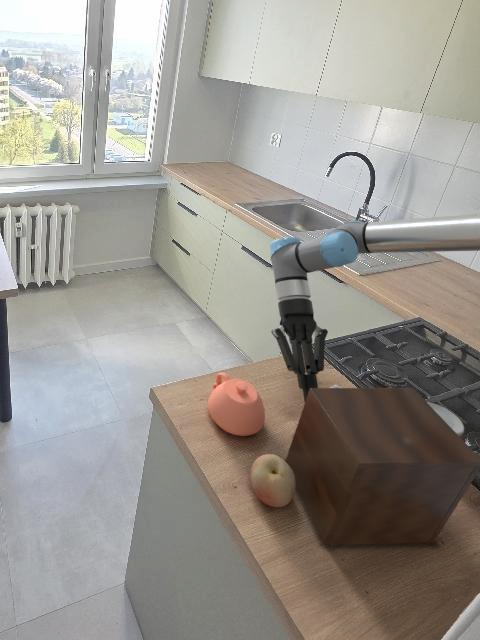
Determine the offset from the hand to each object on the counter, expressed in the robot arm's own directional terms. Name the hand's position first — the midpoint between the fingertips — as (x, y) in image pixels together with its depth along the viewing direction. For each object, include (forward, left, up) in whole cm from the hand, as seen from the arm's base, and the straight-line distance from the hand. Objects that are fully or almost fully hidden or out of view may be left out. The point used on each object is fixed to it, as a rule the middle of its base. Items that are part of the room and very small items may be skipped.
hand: (311, 405), depth 94 cm
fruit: (+16, +16, -5) cm, 24 cm away
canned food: (-21, +8, -5) cm, 23 cm away
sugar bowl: (+17, -2, -5) cm, 18 cm away
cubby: (0, +18, -5) cm, 19 cm away
